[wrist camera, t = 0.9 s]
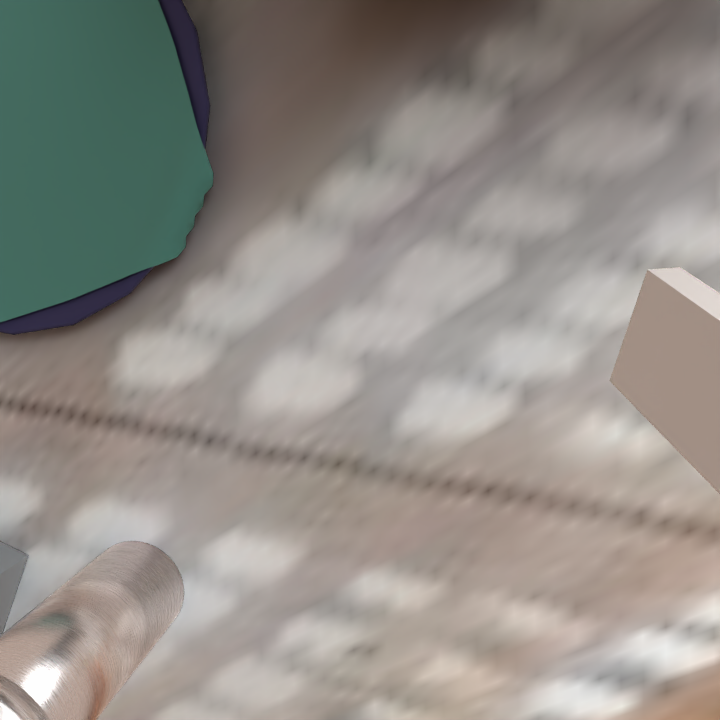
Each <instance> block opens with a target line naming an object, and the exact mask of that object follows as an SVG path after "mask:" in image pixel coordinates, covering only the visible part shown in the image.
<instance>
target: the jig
mask: <svg viewBox="0 0 720 720" xmlns="http://www.w3.org/2000/svg"><path fill="white" fill-rule="evenodd" d="M27 558H28V555H27V554H25V553H23V552H21V551H19V550H17V549H14V548H12V547H10V546H8V545H6V544H4V543H2V542H0V636H1V635H2V633H3V630H4V627H5V624H6V621H7V618H8V615H9V612H10V609H11V606H12V603H13V600H14V597H15V594H16V591H17V588H18V585H19V582H20V579H21V576H22V573H23V570H24V567H25V564H26V561H27Z"/></svg>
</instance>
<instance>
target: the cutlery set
mask: <svg viewBox="0 0 720 720" xmlns="http://www.w3.org/2000/svg"><path fill="white" fill-rule="evenodd" d="M209 112H210V102H209V96H208V91H207V85H206V79H205V73H204V68H203V62H202V56H201V51H200V45H199V39H198V33H197V30H196V28H195V26H194V24H193V22H192V20H191V18H190V16H189V14H188V12H187V10H186V8H185V6H184V4H183V2H182V0H0V332H2V333H7V334H13V335H15V334H21V333H27V332H33V331H39V330H46V329H52V328H58V327H64V326H70V325H74V324H77V323H78V322H80V321H82V320H84V319H86V318H87V317H89V316H91V315H93V314H94V313H96V312H98V311H100V310H102V309H103V308H105V307H107V306H109V305H111V304H112V303H114V302H116V301H118V300H119V299H121V298H123V297H125V296H127V295H128V294H130V293H131V292H132V291H133V290H134V289H135V288H136V286H137V285H138V284H139V283H140V282H141V281H142V280H143V279H144V277H145V276H146V275H147V274H148V273H149V272H150V271H151V269H152V268H153V267H154V266H156V265H159V264H162V263H165V262H167V261H169V260H172V259H174V258H176V257H178V256H179V254H180V253H181V252H182V251H183V250H184V248H185V247H186V236H187V235H188V233H189V232H190V231H191V230H192V229H193V227H194V221H195V215H196V214H197V213H198V212H199V211H200V209H201V208H202V207H203V201H204V195H205V194H206V193H207V191H208V190H209V189H210V188H211V187H212V186H213V171H212V168H211V165H210V162H209V159H208V157H207V154H206V151H205V147H206V138H207V130H208V121H209Z"/></svg>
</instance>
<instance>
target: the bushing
mask: <svg viewBox="0 0 720 720" xmlns="http://www.w3.org/2000/svg"><path fill="white" fill-rule="evenodd" d="M183 600H184V585H183V580H182V577H181V574H180V572H179V570H178V568H177V567H176V565H175V564H174V562H173V561H172V560H171V559H170V557H169V556H167V555H166V554H165V553H164V552H163V551H161V550H160V549H158V548H156V547H155V546H153V545H150V544H148V543H144V542H139V541H126V542H121V543H118V544H115V545H113V546H111V547H110V548H108V549H107V550H106V551H104V552H103V553H102V554H101V555H99V556H98V557H97V558H96V559H95V560H93V561H92V562H91V563H90V564H88V565H87V566H86V567H85V568H83V569H82V570H81V571H80V572H78V573H77V574H76V575H75V576H74V577H72V578H71V579H70V580H69V581H67V582H66V583H65V584H64V585H62V586H61V587H60V588H59V589H58V590H56V591H55V592H54V593H53V594H51V595H50V596H49V597H48V598H46V599H45V600H44V601H43V602H42V603H40V604H39V605H38V606H37V607H35V608H34V609H33V610H32V611H30V612H29V613H28V614H27V615H25V616H24V617H23V618H22V619H21V620H19V621H18V622H17V623H16V624H14V625H13V626H12V627H11V628H9V629H8V630H7V631H6V632H5V633H3V634H2V635H1V636H0V720H97V718H98V717H99V716H100V714H101V713H102V712H103V711H104V709H105V708H106V707H107V705H108V704H109V703H110V702H111V700H112V699H113V698H114V697H115V695H116V694H117V693H118V691H119V690H120V689H121V688H122V686H123V685H124V684H125V682H126V681H127V680H128V679H129V677H130V676H131V675H132V674H133V672H134V671H135V670H136V668H137V667H138V666H139V665H140V663H141V662H142V661H143V659H144V658H145V657H146V656H147V654H148V653H149V652H150V651H151V649H152V648H153V647H154V645H155V644H156V643H157V642H158V640H159V639H160V638H161V636H162V635H163V634H164V633H165V631H166V630H167V629H168V628H169V626H170V625H171V624H172V622H173V621H174V620H175V619H176V617H177V616H178V614H179V612H180V610H181V608H182V605H183Z"/></svg>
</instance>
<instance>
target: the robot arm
mask: <svg viewBox="0 0 720 720" xmlns="http://www.w3.org/2000/svg"><path fill="white" fill-rule="evenodd" d="M610 382H611V383H612V384H613V385H614V386H615V387H616V388H617V389H618V390H619V391H620V392H621V393H622V394H623V395H624V396H625V397H626V398H627V399H628V400H629V401H630V402H631V403H632V404H633V405H634V406H635V407H636V408H637V409H638V410H639V412H640V413H641V414H642V415H643V416H644V417H645V418H646V419H647V420H648V421H649V422H650V423H651V424H652V425H653V426H654V427H655V428H656V429H657V430H658V431H659V432H660V433H661V434H662V435H663V436H664V437H665V438H666V439H667V440H668V441H669V442H670V443H671V444H672V445H673V446H674V447H675V448H676V450H677V451H678V452H679V453H680V454H681V455H682V456H683V457H684V458H685V459H686V460H687V461H688V462H689V463H690V464H691V465H692V466H693V467H694V468H695V469H696V470H697V471H698V472H699V473H700V474H701V475H702V476H703V477H704V478H705V479H706V480H707V481H708V482H709V483H710V484H711V485H712V486H713V488H714V489H715V490H716V491H717V492H718V493H719V494H720V293H719V292H717V291H715V290H714V289H712V288H711V287H709V286H708V285H706V284H705V283H703V282H702V281H700V280H699V279H697V278H696V277H694V276H693V275H691V274H690V273H688V272H687V271H685V270H684V269H682V268H681V267H676V268H663V269H649V270H647V273H646V276H645V279H644V281H643V284H642V287H641V290H640V293H639V296H638V299H637V302H636V305H635V308H634V311H633V314H632V317H631V320H630V323H629V326H628V328H627V331H626V334H625V337H624V340H623V343H622V346H621V349H620V352H619V355H618V358H617V361H616V364H615V367H614V370H613V372H612V375H611V378H610Z"/></svg>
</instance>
